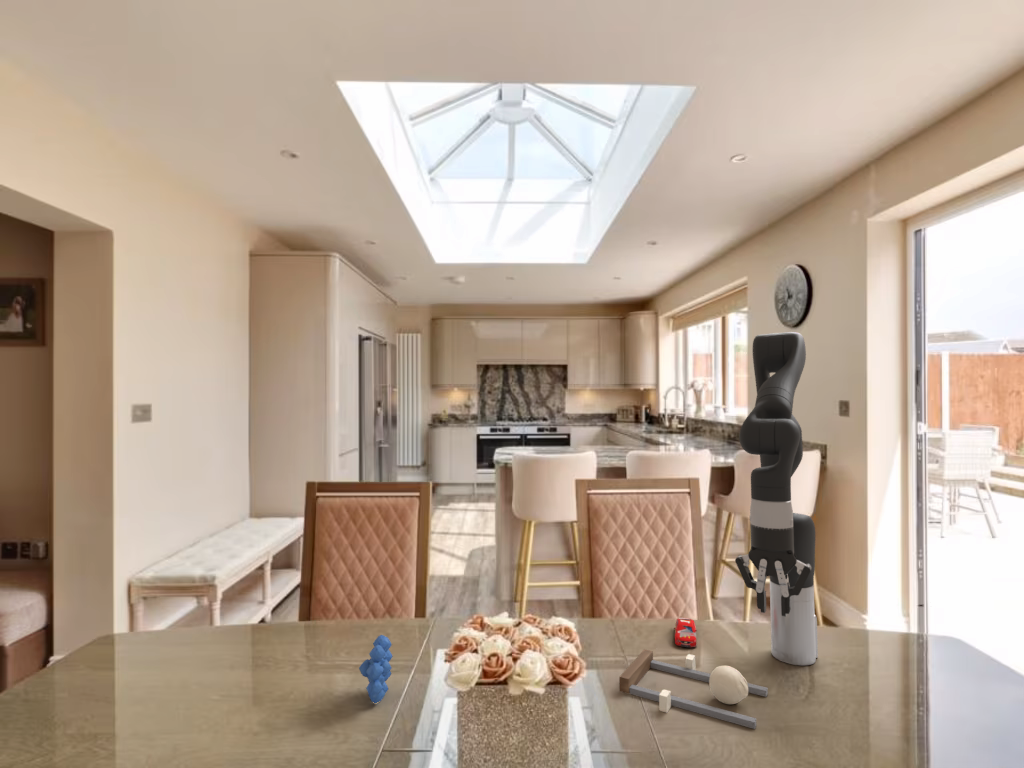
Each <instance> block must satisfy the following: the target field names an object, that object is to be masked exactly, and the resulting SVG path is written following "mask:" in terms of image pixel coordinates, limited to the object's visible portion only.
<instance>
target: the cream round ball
mask: <svg viewBox="0 0 1024 768" xmlns="http://www.w3.org/2000/svg"><path fill="white" fill-rule="evenodd" d="M710 674H711V675H710V679H709V682H708V683H709V689H710V693H711V694H712V695H713V697H714V698H716V700H718V701H719V702H720V703H723V704H726V705H734V704H738V703H739V702H741V701H743V700H744V699H745V698H747V697H748V695H749V692H748V684H747V683H748V681H747V679H746V678H745V677H744V676H743V675H742V673H741V672H740V671H739V670H737V668H735V667H733V666H729V665H719V666H716V667H715V668H714V669H713V670H712V671H711V673H710Z"/></svg>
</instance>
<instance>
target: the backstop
mask: <svg viewBox="0 0 1024 768" xmlns="http://www.w3.org/2000/svg"><path fill="white" fill-rule="evenodd" d="M652 660H654V653H653V650H649V649H645V648H644V649H643V650H642V651H641V652H640V653H639V654H638V655H637V657H635V659H634V660H632V662H631V663H630V664H629V665H628V666H627V668H625V670H624V671H623V672H622V673H621V675H619V692H620V693H621V692H622V693H624V694H628V695H630V694H629V687H630V686H631V685H636V686H638V684H639V682H640V681H641V680H642V679H643V678H644V676H645V675H646V674H647V673H648V671H649V670H650V669H652V668H651V661H652Z"/></svg>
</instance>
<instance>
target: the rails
mask: <svg viewBox="0 0 1024 768" xmlns="http://www.w3.org/2000/svg"><path fill="white" fill-rule="evenodd" d="M650 669H654V670H658V671H662V672H665V673H669V674H673V675H678V676H680V677H681V676H682V677H685V678H688V679H694V680H697V681H702V682H706V683H709V679H710V675H711V673H708V672H705V671H699V670H696V669H695V670H693V669H689V668H686V667H683V666H680V665H675V664H673V663H672V664H671V663H668V662H664V661H660V660H655V659H653V660H652V661H651V668H650ZM747 684H748V694H752V695H753V694H754V695H757V696H760V697H766V698H767V697H768V694H769V691H768V690H769V689H768V687H765V686H761V685H758V684H754V683H750V682H747ZM661 692H662V691H661ZM661 692H660V691H658V690H653V689H650V688H648V687H647V688H646V687H643V686H640V685H631V686H630V687H629V694H628V695H633V696H637V697H641V698H644V699H648V700H651V701H655V702H658V703H659V694H660V693H661ZM672 706H673V707H675V708H679V709H683V710H685V711H690V712H693V713H696V714H700V715H704V716H708V717H711V718H714V719H718V720H722V721H725V722H728V723H732V724H736V725H739V726H742V727H746V728H749V729H753V730H756V727H757V718H756V717H752V716H749V715H745V714H742V713H737V712H735V711H734V712H733V711H730V710H726V709H723V708H719V707H716V706H712V705H709V704H704V703H702V702H698V701H693V700H690V699H687V698H683V697H678V696H676V695H672V694H671V707H672Z"/></svg>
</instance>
